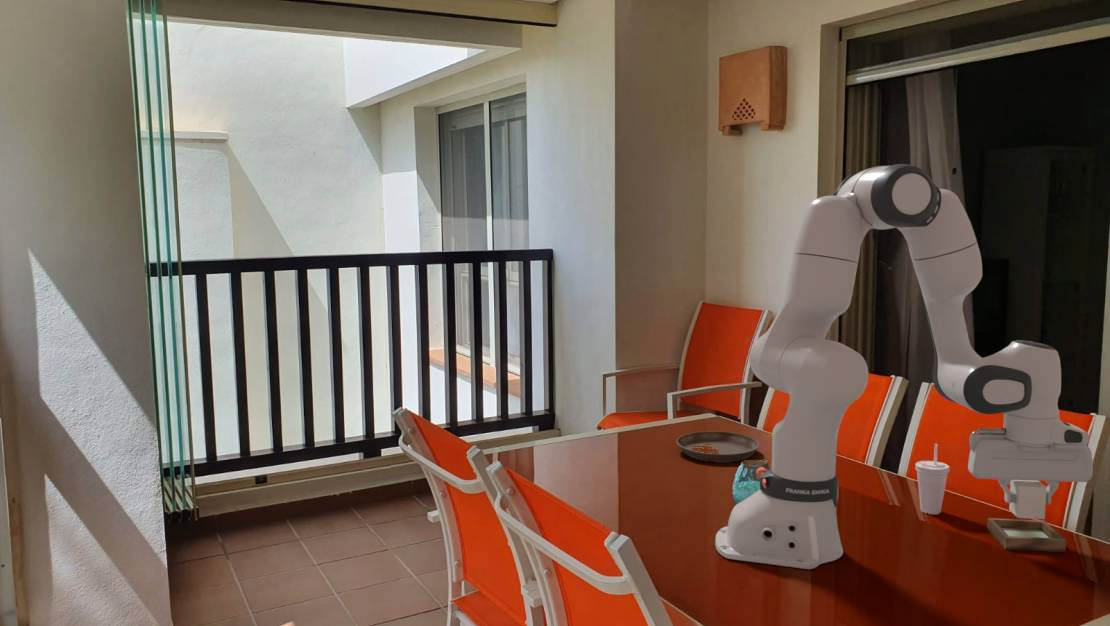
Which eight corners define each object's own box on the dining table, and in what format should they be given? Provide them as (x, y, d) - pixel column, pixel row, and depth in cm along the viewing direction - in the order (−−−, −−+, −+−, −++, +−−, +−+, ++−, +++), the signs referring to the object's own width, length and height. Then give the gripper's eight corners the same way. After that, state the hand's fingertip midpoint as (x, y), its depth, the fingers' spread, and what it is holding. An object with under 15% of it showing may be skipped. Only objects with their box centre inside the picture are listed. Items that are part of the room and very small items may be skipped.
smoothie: (951, 517, 170) (954, 449, 168) (917, 515, 171) (919, 447, 169) (943, 506, 176) (946, 440, 174) (910, 505, 177) (912, 439, 176)
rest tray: (1005, 549, 153) (1005, 537, 153) (987, 529, 163) (987, 518, 163) (1065, 552, 152) (1066, 540, 152) (1043, 531, 162) (1044, 520, 161)
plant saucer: (767, 465, 207) (767, 452, 207) (682, 466, 208) (682, 452, 207) (749, 443, 228) (749, 430, 228) (671, 443, 228) (672, 431, 228)
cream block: (1017, 517, 155) (1019, 486, 155) (1009, 509, 160) (1010, 478, 159) (1044, 519, 155) (1046, 487, 154) (1035, 510, 159) (1036, 479, 158)
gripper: (975, 432, 154) (972, 506, 156) (1098, 434, 151) (1094, 510, 152) (964, 423, 160) (961, 494, 162) (1083, 426, 157) (1079, 498, 158)
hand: (1027, 502), depth 157 cm, fingers closed on cream block, 4 cm apart
